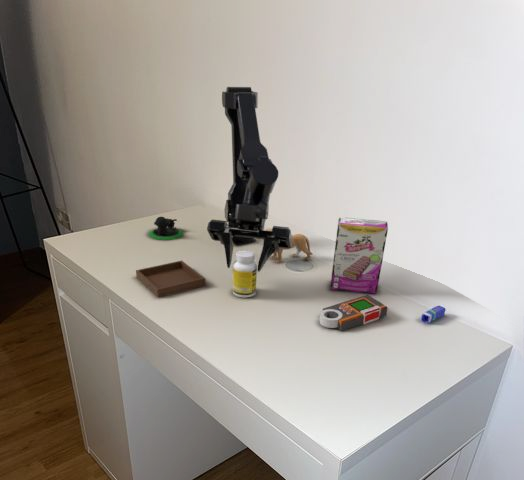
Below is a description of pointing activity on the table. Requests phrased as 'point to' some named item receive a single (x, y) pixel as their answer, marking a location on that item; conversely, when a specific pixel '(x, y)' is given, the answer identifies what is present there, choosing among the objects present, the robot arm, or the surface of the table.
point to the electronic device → (352, 313)
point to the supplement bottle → (244, 274)
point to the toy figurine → (165, 229)
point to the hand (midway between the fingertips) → (243, 269)
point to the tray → (170, 278)
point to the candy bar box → (358, 254)
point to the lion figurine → (297, 241)
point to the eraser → (433, 314)
